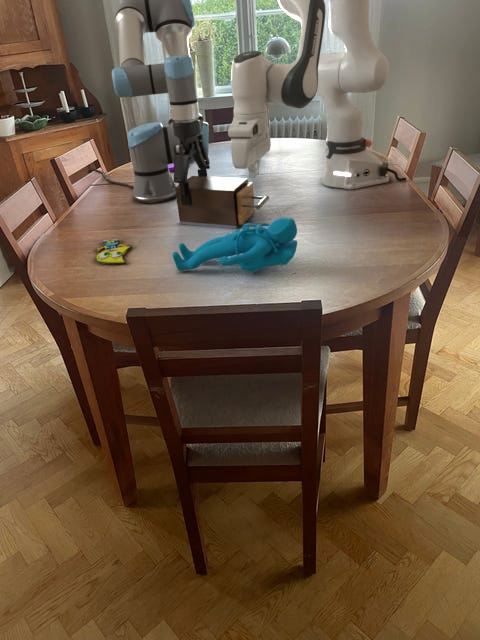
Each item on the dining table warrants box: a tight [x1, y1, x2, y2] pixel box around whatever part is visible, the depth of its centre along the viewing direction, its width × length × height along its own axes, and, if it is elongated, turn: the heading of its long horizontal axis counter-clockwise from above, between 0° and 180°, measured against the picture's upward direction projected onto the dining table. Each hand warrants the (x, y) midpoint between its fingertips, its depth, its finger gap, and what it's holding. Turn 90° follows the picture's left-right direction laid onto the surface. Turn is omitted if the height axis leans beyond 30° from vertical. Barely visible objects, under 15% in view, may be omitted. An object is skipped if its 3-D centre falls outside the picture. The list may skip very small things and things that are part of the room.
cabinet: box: [175, 175, 249, 229], centre depth 142 cm, size 18×11×11 cm, turn 68°
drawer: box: [235, 181, 270, 226], centre depth 140 cm, size 22×10×9 cm, turn 68°
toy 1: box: [95, 238, 133, 265], centre depth 129 cm, size 10×1×15 cm
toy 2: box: [171, 217, 298, 274], centre depth 113 cm, size 17×11×30 cm
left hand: (196, 197), depth 143 cm, fingers closed on cabinet, 11 cm apart
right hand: (254, 176), depth 132 cm, fingers closed
